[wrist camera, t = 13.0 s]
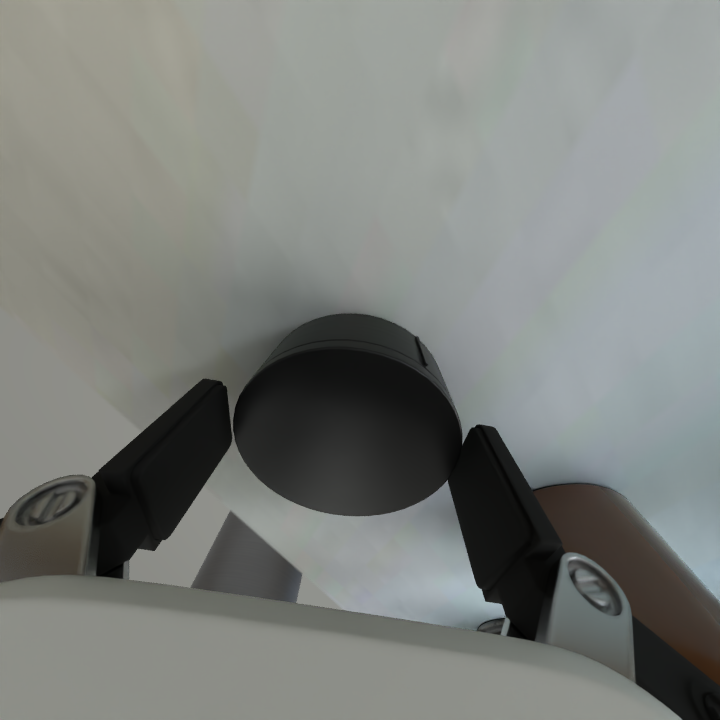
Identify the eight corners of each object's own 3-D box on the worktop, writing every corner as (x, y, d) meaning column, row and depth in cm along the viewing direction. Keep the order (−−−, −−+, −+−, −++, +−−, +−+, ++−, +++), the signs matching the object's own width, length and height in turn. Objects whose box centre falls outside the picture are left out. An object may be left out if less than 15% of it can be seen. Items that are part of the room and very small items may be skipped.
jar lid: (336, 266, 9) (318, 284, 6) (482, 390, 10) (516, 444, 8) (236, 402, 12) (197, 453, 9) (364, 479, 14) (361, 538, 11)
